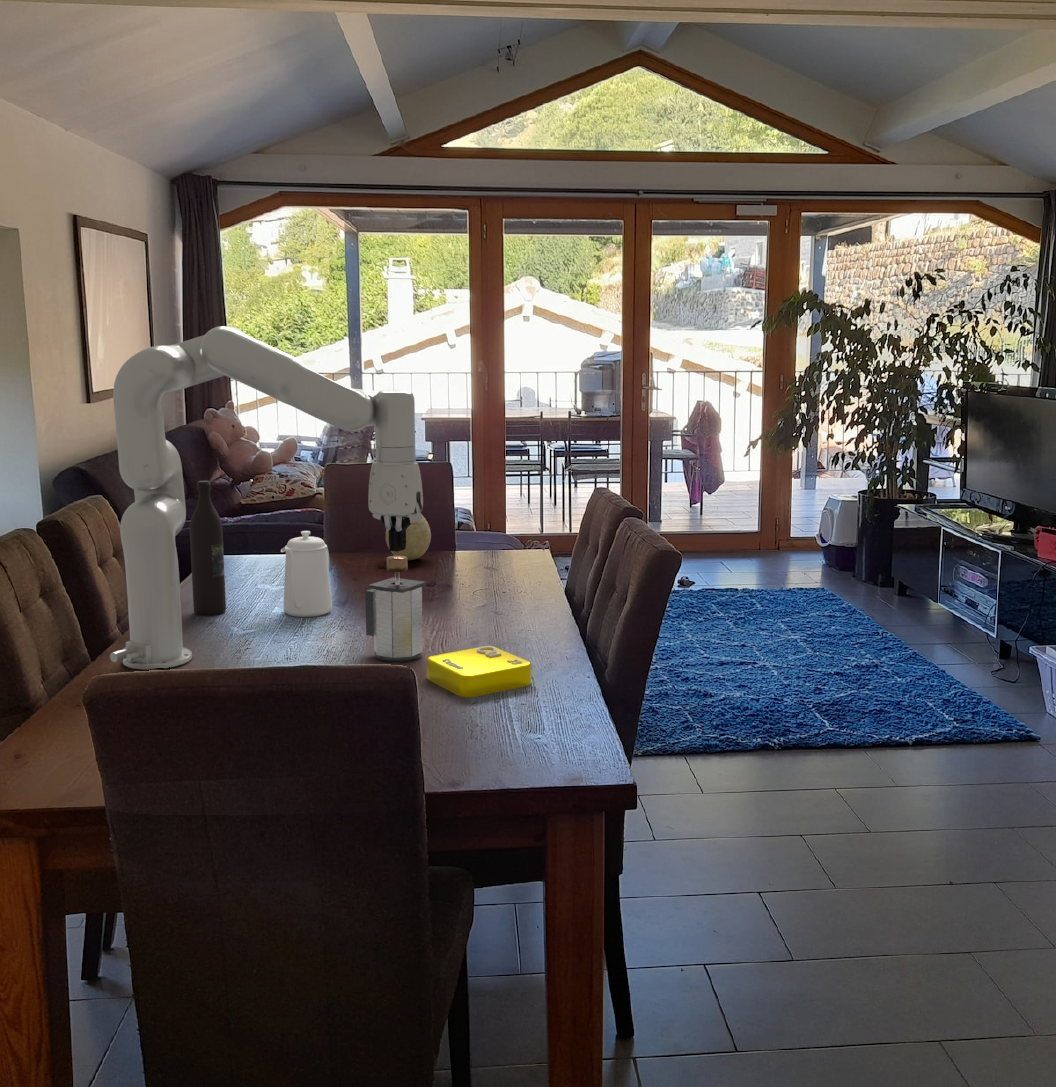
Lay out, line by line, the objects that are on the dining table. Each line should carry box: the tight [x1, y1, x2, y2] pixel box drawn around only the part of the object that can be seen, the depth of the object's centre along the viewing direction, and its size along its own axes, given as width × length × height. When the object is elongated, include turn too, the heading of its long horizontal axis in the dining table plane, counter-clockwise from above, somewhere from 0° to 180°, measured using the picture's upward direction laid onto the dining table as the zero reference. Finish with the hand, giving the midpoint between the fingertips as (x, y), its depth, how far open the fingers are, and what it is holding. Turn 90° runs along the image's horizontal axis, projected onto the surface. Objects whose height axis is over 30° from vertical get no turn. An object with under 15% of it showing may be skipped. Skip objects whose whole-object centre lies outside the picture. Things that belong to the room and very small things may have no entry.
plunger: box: [386, 555, 409, 585], centre depth 211 cm, size 7×7×14 cm
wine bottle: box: [189, 480, 227, 617], centre depth 243 cm, size 7×7×30 cm
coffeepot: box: [280, 530, 333, 618], centre depth 245 cm, size 11×25×19 cm, turn 168°
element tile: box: [426, 645, 532, 698], centre depth 198 cm, size 15×15×5 cm
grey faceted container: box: [364, 577, 427, 663], centre depth 212 cm, size 9×12×15 cm
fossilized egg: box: [385, 513, 432, 561], centre depth 306 cm, size 13×13×15 cm
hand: (397, 550), depth 209 cm, fingers closed
